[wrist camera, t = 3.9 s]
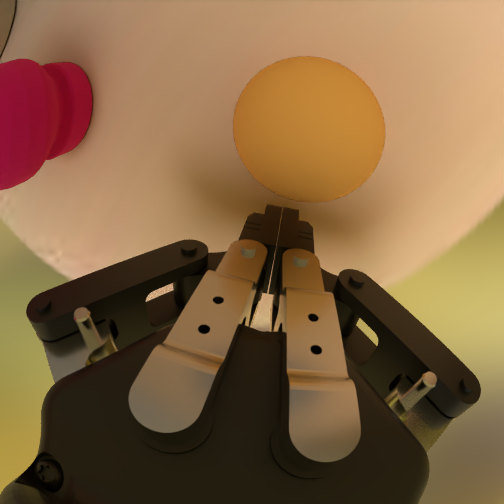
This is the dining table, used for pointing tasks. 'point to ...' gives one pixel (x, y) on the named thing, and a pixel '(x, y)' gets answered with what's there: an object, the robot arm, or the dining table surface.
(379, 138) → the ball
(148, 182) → the dining table surface
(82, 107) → the pepper mill
